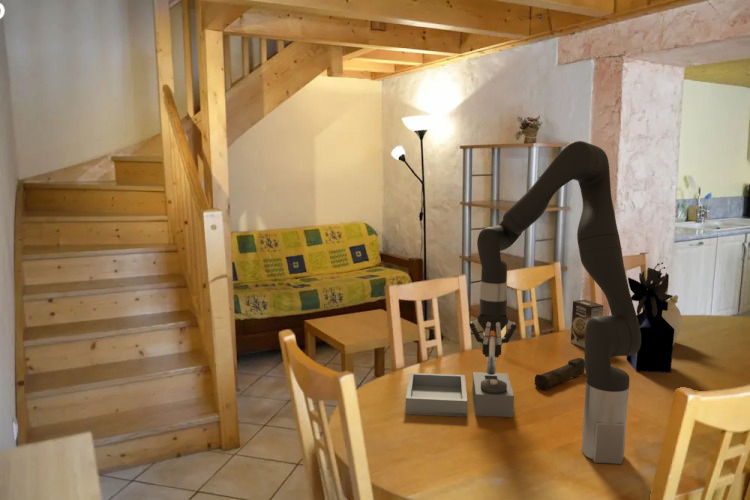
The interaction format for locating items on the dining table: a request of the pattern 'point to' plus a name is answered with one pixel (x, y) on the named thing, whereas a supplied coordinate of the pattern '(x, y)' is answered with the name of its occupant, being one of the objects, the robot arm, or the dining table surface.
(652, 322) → the vase
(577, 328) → the coffee box
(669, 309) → the jug
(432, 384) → the tray
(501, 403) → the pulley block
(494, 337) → the pin
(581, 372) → the hand tool
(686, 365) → the dining table surface
